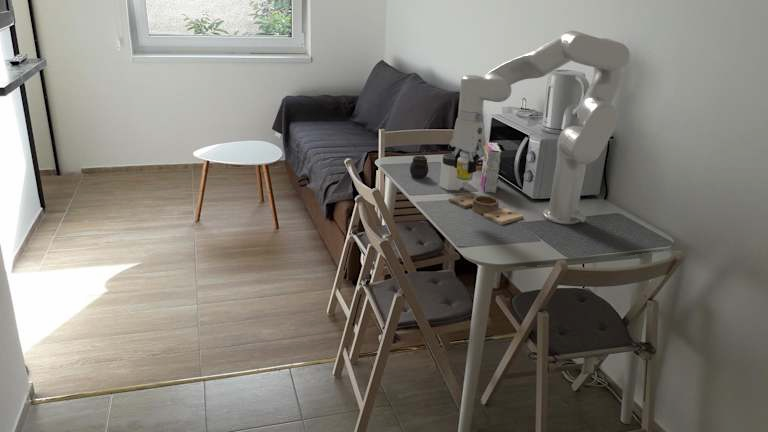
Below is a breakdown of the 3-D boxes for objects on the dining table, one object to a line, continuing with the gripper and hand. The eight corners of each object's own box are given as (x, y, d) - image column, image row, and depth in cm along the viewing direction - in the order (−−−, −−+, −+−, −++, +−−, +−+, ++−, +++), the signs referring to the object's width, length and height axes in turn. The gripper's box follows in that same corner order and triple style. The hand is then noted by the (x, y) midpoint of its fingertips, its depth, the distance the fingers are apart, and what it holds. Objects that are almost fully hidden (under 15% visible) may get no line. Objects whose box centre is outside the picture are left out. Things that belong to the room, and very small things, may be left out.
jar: (457, 192, 235) (461, 161, 231) (436, 188, 238) (439, 157, 234) (464, 185, 243) (468, 155, 239) (444, 181, 246) (447, 151, 241)
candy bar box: (479, 182, 247) (484, 141, 241) (492, 183, 247) (497, 142, 241) (483, 192, 237) (488, 150, 231) (496, 193, 237) (502, 151, 231)
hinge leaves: (522, 218, 215) (524, 208, 214) (501, 224, 209) (502, 215, 207) (470, 195, 233) (471, 186, 232) (448, 201, 226) (449, 191, 225)
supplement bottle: (473, 182, 207) (475, 154, 203) (456, 182, 207) (459, 153, 203) (471, 177, 212) (473, 149, 208) (455, 176, 212) (457, 148, 208)
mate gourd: (407, 178, 247) (409, 153, 243) (412, 172, 254) (414, 148, 250) (425, 181, 245) (427, 156, 241) (429, 175, 252) (431, 151, 248)
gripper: (498, 119, 198) (492, 175, 204) (459, 108, 210) (454, 161, 217) (481, 122, 193) (476, 179, 200) (442, 111, 205) (438, 164, 212)
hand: (464, 169), depth 208 cm, fingers closed on supplement bottle, 5 cm apart
